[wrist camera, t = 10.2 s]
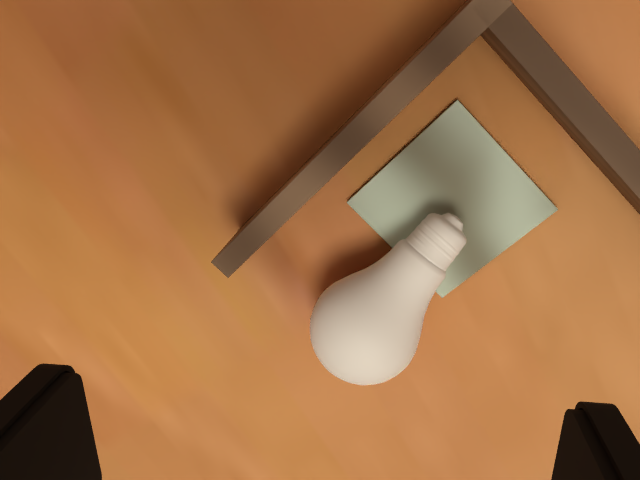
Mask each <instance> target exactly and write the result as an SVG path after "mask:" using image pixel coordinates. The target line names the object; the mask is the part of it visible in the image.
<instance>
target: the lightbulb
mask: <svg viewBox="0 0 640 480" xmlns="http://www.w3.org/2000/svg"><path fill="white" fill-rule="evenodd" d="M462 231H463V223H462V222H461V221H460V219H459V218H458V217H457V216H455V215H453V214H450V213H446V214H443V215H440V214H436V213H431V214H428V215H427V217H426V218H425V219H424V220H422V221H421V223H420V224H419V225H418V226H417V227H416V229H415V230H414V231H413V232H411V234H410V235H409V236H408V237H407V238H406V239H402V240H400V241H399V242H398V243H397V244H396V245H395V246H394V247H393V248H392V249H391V250H390V251H389V252H388V253H387V254H386V255H385V256H383V257H382V258H381V259H380V260H379V261H377V262H375V263H374V264H372V265H370V266H369V267H367V268H365V269H363V270H360V271H358V272H355V273H353V274H351V275H349V276H346V277H344V278H342V279H340V280H338V281H336V282H334V283H333V284H332V285H330V286H329V287H328V288H327V289H325V290H324V292H323V293H322V294H321V295H320V297H319V298H318V300H317V302H316V304H315V306H314V309H313V312H312V315H311V318H310V338H311V343H312V346H313V348H314V351H315V353H316V355H317V357H318V359H319V360H320V362H321V363H322V365H323V366H324V367H325V368H326V369H327V370H328V371H329V372H330V373H332V374H333V375H334V376H336V377H338V378H339V379H342V380H344V381H346V382H349V383H353V384H358V385H375V384H379V383H383V382H385V381H387V380H389V379H391V378H393V377H395V376H397V375H398V374H399V373H401V372H402V371H403V370H404V369H405V368H406V367H407V366H408V365H409V363H410V362H411V360H412V358H413V356H414V354H415V352H416V350H417V346H418V342H419V339H420V335H421V331H422V325H423V320H424V315H425V313H426V310H427V307H428V304H429V302H430V300H431V298H432V297H433V295H434V293H435V291H436V289H437V288H438V287H439V285H440V284H441V283H442V281H443V280H444V279H445V276H446V270H447V268H448V267H449V265H450V264H451V263H452V262H453V261H454V259H455V257H456V256H457V255H458V254H459V252H460V251H461V250H462V248H463V247H464V246H465V244H466V237H465V235H464V233H463V232H462Z"/></svg>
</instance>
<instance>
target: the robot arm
mask: <svg viewBox="0 0 640 480" xmlns="http://www.w3.org/2000/svg"><path fill="white" fill-rule="evenodd" d="M0 480H102V474H101V469H100V464H99V459H98V455H97V450H96V445H95V440H94V435H93V430H92V426H91V421H90V416H89V411H88V406H87V401H86V397H85V392H84V387H83V382H82V378H81V376H80V375H79V374H77V373H75V371H74V369H73V368H72V367H71V366H68V365H56V364H39V365H38V366H36V367H35V368H34V369H33V370H32V371H31V372H30V373H29V374H28V375H26V376H25V377H24V378H23V379H22V380H21V381H20V382H19V383H18V384H17V385H16V386H15V387H14V388H13V389H12V390H11V391H10V392H8V393H7V394H6V395H5V396H4V397H3V398H2V399H1V400H0ZM551 480H640V444H639V443H638V441H637V439H636V438H635V436H634V434H633V433H632V431H631V429H630V428H629V426H628V424H627V423H626V421H625V419H624V418H623V416H622V415H621V413H620V411H619V410H618V408H617V407H616V406H615V405H613V404H607V403H593V402H578V403H577V405H576V407H575V409H568V410H566V412H565V415H564V420H563V425H562V430H561V435H560V440H559V445H558V449H557V454H556V459H555V464H554V469H553V474H552V479H551Z"/></svg>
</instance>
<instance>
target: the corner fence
mask: <svg viewBox="0 0 640 480" xmlns="http://www.w3.org/2000/svg"><path fill="white" fill-rule="evenodd" d="M479 35H481V36H482V37H483V38H484V39H485V41H486V42H487V43H488V44H489V45H490V46H491V47H492V48H493V50H494V51H495V52H496V53H497V54H498V55H499V56H500V57H501V59H502V60H503V61H504V62H505V63H506V64H507V65H508V66H509V68H510V69H511V70H512V71H513V72H514V73H515V74H516V76H517V77H518V78H519V79H520V80H521V81H522V82H523V83H524V85H525V86H526V87H527V88H528V89H529V90H530V91H531V92H532V94H533V95H534V96H535V97H536V98H537V99H538V100H539V101H540V103H541V104H542V105H543V106H544V107H545V108H546V109H547V110H548V112H549V113H550V114H551V115H552V116H553V117H554V118H555V119H556V121H557V122H558V123H559V124H560V125H561V126H562V127H563V128H564V130H565V131H566V132H567V133H568V134H569V135H570V136H571V138H572V139H573V140H574V141H575V142H576V143H577V144H578V145H579V147H580V148H581V149H582V150H583V151H584V152H585V153H586V154H587V156H588V157H589V158H590V159H591V160H592V161H593V162H594V163H595V165H596V166H597V167H598V168H599V169H600V170H601V171H602V172H603V174H604V175H605V176H606V177H607V178H608V179H609V180H610V181H611V183H612V184H613V185H614V186H615V187H616V188H617V189H618V190H619V192H620V193H621V194H622V195H623V196H624V197H625V198H626V200H627V201H628V202H629V203H630V204H631V205H632V206H633V207H634V209H635V210H636V211H637V212H638V213H639V214H640V150H639V149H638V148H637V147H636V145H635V144H634V143H633V142H632V141H631V140H630V138H629V137H628V136H627V135H626V134H625V133H624V131H623V130H622V129H621V128H620V127H619V126H618V125H617V123H616V122H615V121H614V120H613V119H612V118H611V116H610V115H609V114H608V113H607V112H606V111H605V110H604V108H603V107H602V106H601V105H600V104H599V103H598V101H597V100H596V99H595V98H594V97H593V96H592V94H591V93H590V92H589V91H588V90H587V89H586V88H585V86H584V85H583V84H582V83H581V82H580V81H579V79H578V78H577V77H576V76H575V75H574V74H573V72H572V71H571V70H570V69H569V68H568V67H567V66H566V64H565V63H564V62H563V61H562V60H561V59H560V57H559V56H558V55H557V54H556V53H555V52H554V51H553V49H552V48H551V47H550V46H549V45H548V44H547V42H546V41H545V40H544V39H543V38H542V37H541V35H540V34H539V33H538V32H537V31H536V30H535V29H534V27H533V26H532V25H531V24H530V23H529V22H528V20H527V19H526V18H525V17H524V16H523V15H522V14H521V12H520V11H519V10H518V9H517V8H516V7H515V5H514V4H513V3H512V2H511V1H510V0H467V1H466V2H465V3H464V4H463V5H462V6H461V7H460V8H459V9H458V10H457V11H456V12H455V13H454V14H453V15H452V16H451V17H450V18H449V19H448V20H447V21H446V22H445V23H444V24H443V25H442V26H441V27H440V28H439V29H438V30H437V31H436V32H435V33H434V34H433V35H432V36H431V37H430V38H429V39H428V40H427V41H426V42H425V43H424V44H423V45H422V46H421V47H420V48H419V49H418V50H417V51H416V52H415V53H414V54H413V55H412V56H411V57H410V58H409V59H408V60H407V62H406V63H405V64H404V65H403V66H402V67H401V68H400V69H399V70H398V71H397V72H396V73H395V74H394V75H393V76H392V77H391V78H390V79H389V80H388V81H387V82H386V83H385V84H384V85H383V86H382V87H381V88H380V89H379V90H378V91H377V92H376V93H375V94H374V95H373V96H372V97H371V98H370V99H369V100H368V101H367V102H366V103H365V104H364V105H363V106H362V107H361V108H360V109H359V110H358V111H357V112H356V113H355V114H354V115H353V116H352V117H351V118H350V119H349V120H348V121H347V122H346V123H345V124H344V125H343V126H342V127H341V128H340V129H339V130H338V131H337V132H336V133H335V134H334V135H333V136H332V137H331V138H330V139H329V140H328V141H327V142H326V143H325V144H324V145H323V146H322V147H321V148H320V149H319V150H318V151H317V152H316V153H315V154H314V155H313V156H312V157H311V158H310V159H309V160H308V161H307V162H306V163H305V164H304V165H303V166H302V167H301V168H300V169H299V170H298V171H297V172H296V173H295V174H294V175H293V176H292V177H291V178H290V179H289V180H288V181H287V182H286V183H285V184H284V185H283V186H282V187H281V188H280V189H279V190H278V191H277V192H276V193H275V194H274V195H273V196H272V197H271V198H270V199H269V200H268V201H267V202H266V203H265V204H264V205H263V206H262V207H261V208H260V209H259V210H258V211H257V212H256V213H255V214H254V215H253V216H252V217H251V218H250V219H249V220H248V221H247V222H246V223H245V224H244V225H243V226H242V227H241V228H240V229H239V231H238V232H237V233H236V234H235V235H234V236H233V237H232V239H231V240H230V241H229V242H228V243H227V244H226V245H225V247H224V248H223V249H222V250H221V251H220V252H219V253H218V255H217V256H216V257H215V258H214V259H213V260H212V262H211V263H213V264H214V265H215V266H216V267H217V268H218V269H219V270H220V271H221V272H222V273H223V274H224V275H226V276H227V277H230V276H231V275H232V274H233V273H234V272H235V271H236V270H237V269H238V268H239V267H240V266H241V265H242V264H243V263H244V262H245V261H246V260H247V259H248V258H249V257H250V256H251V255H252V254H253V253H254V252H255V251H256V250H258V249H259V248H260V247H261V246H262V245H263V244H264V243H265V242H266V241H267V240H268V239H269V238H270V237H271V236H272V235H273V234H274V233H275V232H276V231H277V230H278V229H279V228H280V227H281V226H282V225H283V224H284V223H286V222H287V221H288V220H289V219H290V218H291V217H292V216H293V215H294V214H295V213H296V212H297V211H298V210H299V209H300V208H301V207H302V206H303V205H304V204H305V203H306V202H307V201H308V200H309V199H310V198H311V197H312V196H314V195H315V194H316V193H317V192H318V191H319V190H320V189H321V188H322V187H323V186H324V185H325V184H326V183H327V182H328V181H329V180H330V179H331V178H332V177H333V176H334V175H335V174H336V173H337V172H338V171H339V170H340V169H342V168H343V167H344V166H345V165H346V164H347V163H348V162H349V161H350V160H351V159H352V158H353V157H354V156H355V155H356V154H357V153H358V152H359V151H360V150H361V149H362V148H363V147H364V146H365V145H366V144H367V143H368V142H370V141H371V140H372V139H373V138H374V137H375V136H376V135H377V134H378V133H379V132H380V131H381V130H382V129H383V128H384V127H385V126H386V125H387V124H388V123H389V122H390V121H391V120H392V119H393V118H394V117H395V116H396V115H398V114H399V113H400V112H401V111H402V110H403V109H404V108H405V107H406V106H407V105H408V104H409V103H410V102H411V101H412V100H413V99H414V98H415V97H416V96H417V95H418V94H419V93H420V92H421V91H422V90H423V89H424V88H426V87H427V86H428V85H429V84H430V83H431V82H432V81H433V80H434V79H435V78H436V77H437V76H438V75H439V74H440V73H441V72H442V71H443V70H444V69H445V68H446V67H447V66H448V65H449V64H450V63H451V62H452V61H454V60H455V59H456V58H457V57H458V56H459V55H460V54H461V53H462V52H463V51H464V50H465V49H466V48H467V47H468V46H469V45H470V44H471V43H472V42H473V41H474V40H475V39H476V38H477V37H478V36H479ZM347 203H348V204H349V205H350V206H351V207H352V208H353V209H354V210H355V211H356V212H357V213H358V214H359V215H360V216H361V217H362V218H363V219H364V220H365V221H366V222H367V223H368V224H369V225H370V226H371V227H372V228H373V229H374V230H375V231H376V232H377V233H378V234H379V235H380V236H381V237H382V238H383V239H384V240H385V241H386V242H387V243H388V244H389V245H390V246H391V247H392V248H393V247H394V246H395V245H396V244H397V243H398V242H399V241H400V240H402V239H406V238H407V237H408V236H409V235H410V234H411V232H413V231H414V230H415V229H416V227H417V226H418V225H419V224H420V223H421V221H422V220H424V219H425V218H426V217H427V215H428V214H431V213H436V214H440V215H443V214H446V213H450V214H453V215H455V216H457V217H458V218H459V219H460V221H461V222H462V223H463V231H462V232H463V233H464V235H465V237H466V244H465V246H464V247H463V248H462V250H461V251H460V252H459V254H458V255H457V256H456V257H455V259H454V261H453V262H452V263H451V264H450V265H449V267H448V268H447V270H446V276H445V279H444V280H443V281H442V283H441V284H440V285H439V287H438V288H437V289H436V292H437V293H438V294H439V295H440V296H441V297H442V298H443V297H444V296H445V295H447V294H448V293H449V292H451V291H452V290H453V289H454V288H456V287H457V286H458V285H460V284H461V283H462V282H464V281H465V280H466V279H468V278H469V277H470V276H472V275H473V274H474V273H475V272H477V271H478V270H479V269H481V268H482V267H483V266H485V265H486V264H487V263H489V262H490V261H491V260H493V259H494V258H495V257H497V256H498V255H499V254H500V253H502V252H503V251H504V250H506V249H507V248H508V247H510V246H511V245H512V244H514V243H515V242H516V241H518V240H519V239H520V238H522V237H523V236H524V235H525V234H527V233H528V232H529V231H531V230H532V229H533V228H535V227H536V226H537V225H539V224H540V223H541V222H543V221H544V220H545V219H546V218H548V217H549V216H550V215H552V214H553V213H554V212H556V211H557V210H558V209H557V208H556V207H555V205H554V204H553V203H552V202H551V201H550V200H549V199H548V198H547V197H546V196H545V195H544V193H543V192H542V191H541V190H540V189H539V188H538V187H537V186H536V185H535V184H534V183H533V181H532V180H531V179H530V178H529V177H528V176H527V175H526V174H525V173H524V172H523V171H522V169H521V168H520V167H519V166H518V165H517V164H516V163H515V162H514V161H513V160H512V159H511V158H510V156H509V155H508V154H507V153H506V152H505V151H504V150H503V149H502V148H501V147H500V146H499V144H498V143H497V142H496V141H495V140H494V139H493V138H492V137H491V136H490V135H489V134H488V132H487V131H486V130H485V129H484V128H483V127H482V126H481V125H480V124H479V123H478V122H477V120H476V119H475V118H474V117H473V116H472V115H471V114H470V113H469V112H468V111H467V110H466V109H465V107H464V106H463V105H462V104H461V103H460V102H459V101H458V100H456V101H455V102H454V103H453V104H452V105H450V106H449V107H448V108H447V109H446V110H445V111H444V112H443V113H442V114H441V115H440V116H439V117H438V118H436V119H435V120H434V121H433V122H432V123H431V124H430V125H429V126H428V127H427V128H426V129H425V130H423V131H422V132H421V133H420V134H419V135H418V136H417V137H416V138H415V139H414V140H413V141H412V142H411V143H409V144H408V145H407V146H406V147H405V148H404V149H403V150H402V151H401V152H400V153H399V154H398V155H397V156H395V157H394V158H393V159H392V160H391V161H390V162H389V163H388V164H387V165H386V166H385V167H384V168H382V169H381V170H380V171H379V172H378V173H377V174H376V175H375V176H374V177H373V178H372V179H371V180H370V181H368V182H367V183H366V184H365V185H364V186H363V187H362V188H361V189H360V190H359V191H358V192H357V193H355V194H354V195H353V196H352V197H351V198H350V199H349V200H348V201H347Z"/></svg>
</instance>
